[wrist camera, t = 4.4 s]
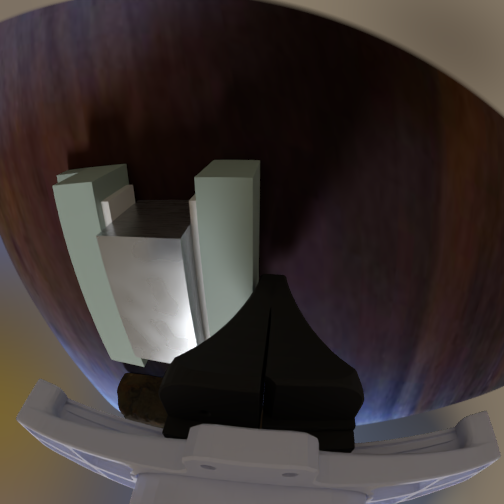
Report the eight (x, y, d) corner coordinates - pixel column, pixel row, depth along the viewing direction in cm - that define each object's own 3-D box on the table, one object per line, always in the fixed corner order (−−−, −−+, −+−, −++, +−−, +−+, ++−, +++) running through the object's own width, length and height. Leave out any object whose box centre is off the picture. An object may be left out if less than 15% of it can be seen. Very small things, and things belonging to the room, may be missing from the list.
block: (207, 199, 13) (179, 239, 10) (216, 315, 17) (201, 368, 13) (138, 199, 13) (96, 235, 10) (160, 309, 17) (135, 357, 13)
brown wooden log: (352, 404, 21) (356, 452, 17) (330, 424, 23) (332, 467, 19) (125, 349, 20) (101, 395, 16) (128, 376, 22) (109, 417, 18)
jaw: (260, 160, 12) (252, 177, 9) (257, 343, 17) (252, 382, 15) (205, 160, 12) (183, 177, 10) (219, 340, 18) (209, 378, 15)
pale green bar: (133, 163, 12) (99, 181, 10) (165, 334, 18) (150, 368, 15) (68, 170, 13) (31, 188, 10) (110, 324, 18) (91, 354, 16)
